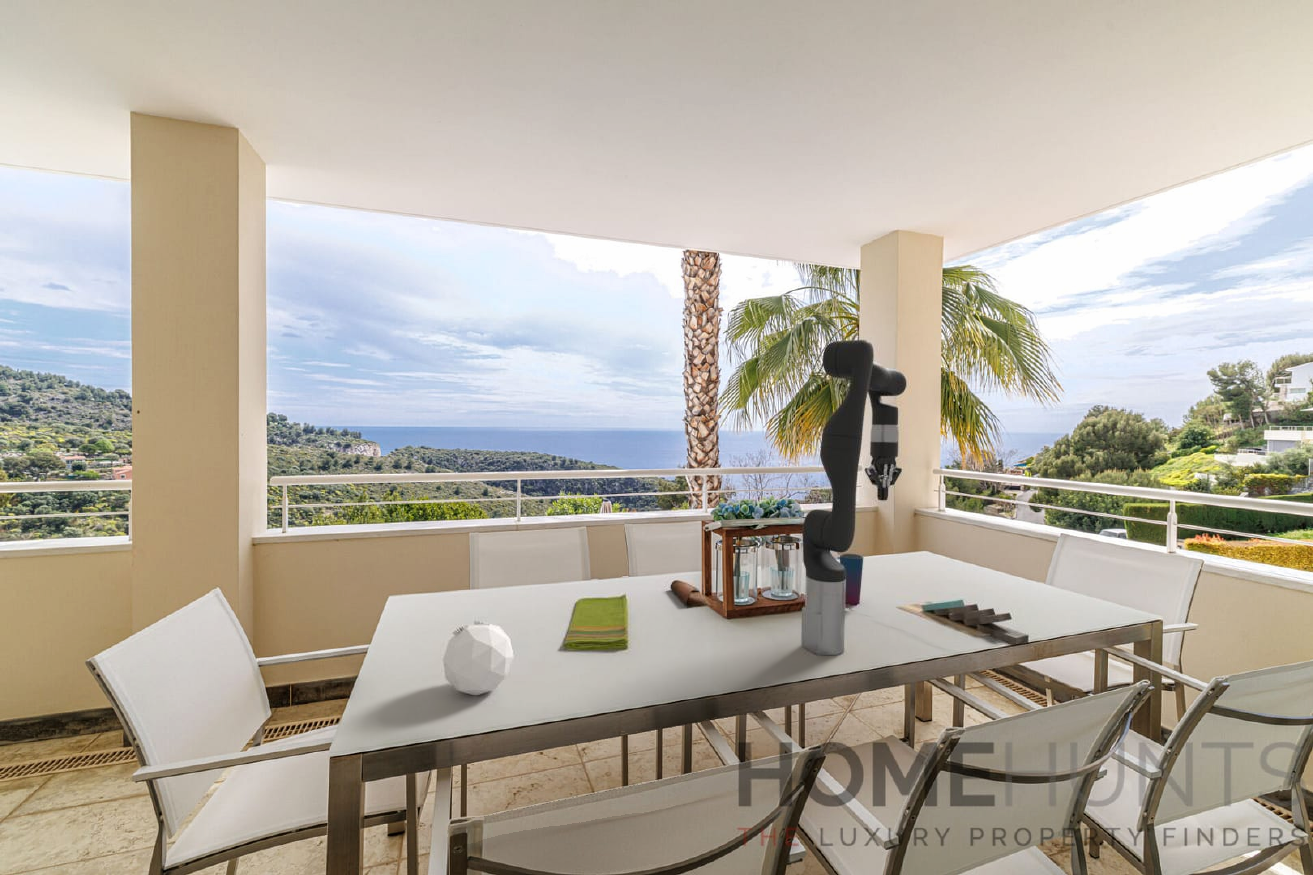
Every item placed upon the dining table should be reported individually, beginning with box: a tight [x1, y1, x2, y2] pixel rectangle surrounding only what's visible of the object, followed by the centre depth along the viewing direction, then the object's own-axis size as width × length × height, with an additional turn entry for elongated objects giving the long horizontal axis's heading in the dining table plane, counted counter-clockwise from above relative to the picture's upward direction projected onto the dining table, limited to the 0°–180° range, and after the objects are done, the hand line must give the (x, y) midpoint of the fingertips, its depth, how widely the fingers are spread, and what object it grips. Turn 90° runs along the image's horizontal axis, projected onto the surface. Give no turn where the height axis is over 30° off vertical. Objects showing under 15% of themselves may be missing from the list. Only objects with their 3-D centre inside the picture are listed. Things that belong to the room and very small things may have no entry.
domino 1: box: [921, 599, 965, 611], centre depth 156 cm, size 5×2×10 cm
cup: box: [839, 552, 864, 608], centre depth 166 cm, size 7×7×15 cm
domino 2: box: [934, 603, 980, 616], centre depth 152 cm, size 5×2×10 cm
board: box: [895, 601, 989, 638], centre depth 153 cm, size 14×25×1 cm, turn 25°
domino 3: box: [949, 608, 996, 621], centre depth 148 cm, size 5×2×10 cm
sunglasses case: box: [669, 579, 712, 608], centre depth 171 cm, size 18×7×7 cm, turn 14°
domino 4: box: [963, 612, 1012, 626], centre depth 144 cm, size 5×2×10 cm
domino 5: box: [977, 622, 1030, 645], centre depth 140 cm, size 5×2×10 cm
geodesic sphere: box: [442, 620, 515, 696], centre depth 109 cm, size 14×14×14 cm
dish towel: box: [563, 593, 629, 651], centre depth 148 cm, size 15×36×3 cm, turn 3°
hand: (882, 500), depth 160 cm, fingers closed
